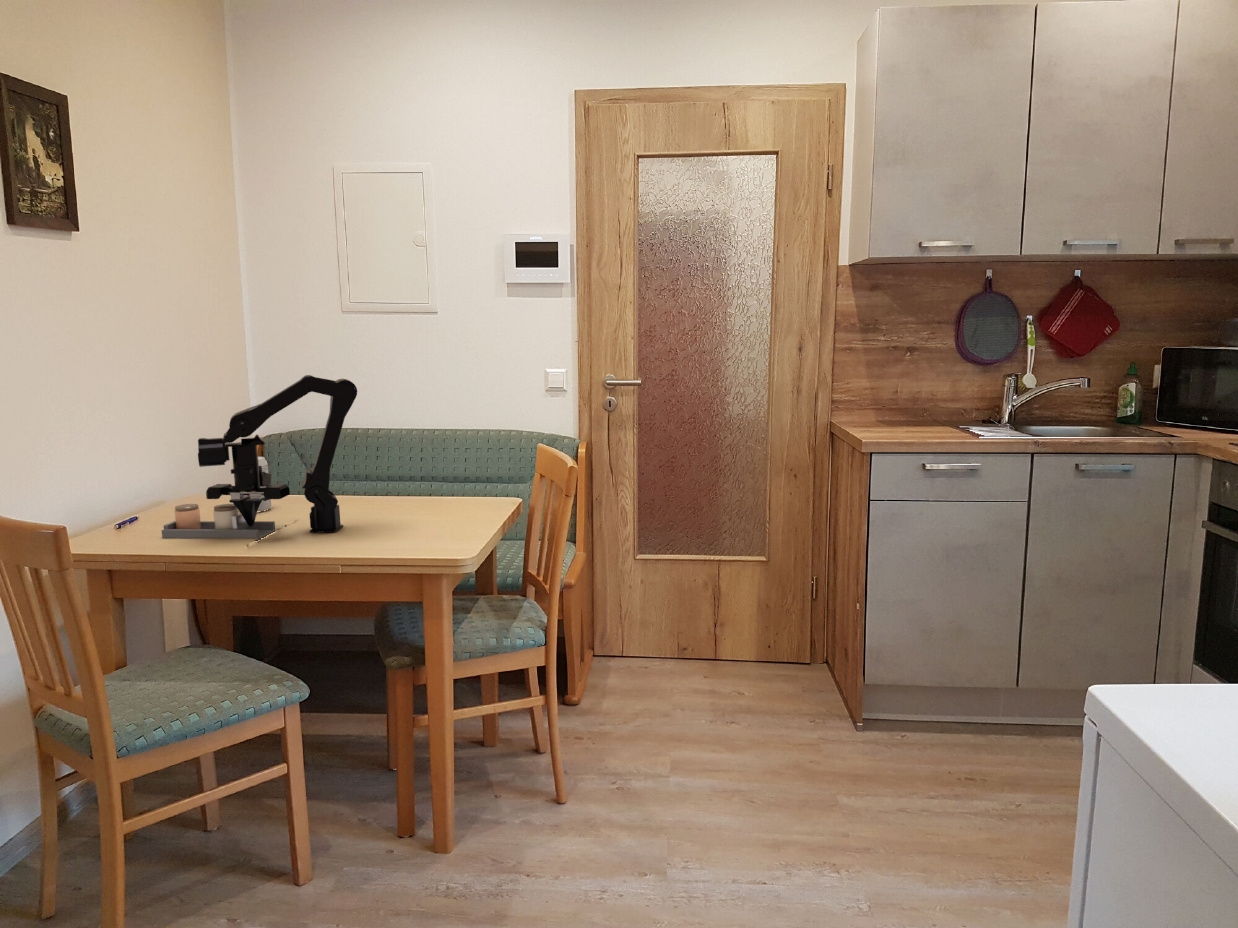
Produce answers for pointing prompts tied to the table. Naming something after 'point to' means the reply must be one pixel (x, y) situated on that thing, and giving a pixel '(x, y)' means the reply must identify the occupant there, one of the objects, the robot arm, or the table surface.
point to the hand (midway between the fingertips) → (251, 525)
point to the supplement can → (266, 502)
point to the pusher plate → (240, 522)
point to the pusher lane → (219, 531)
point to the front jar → (187, 516)
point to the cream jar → (224, 516)
